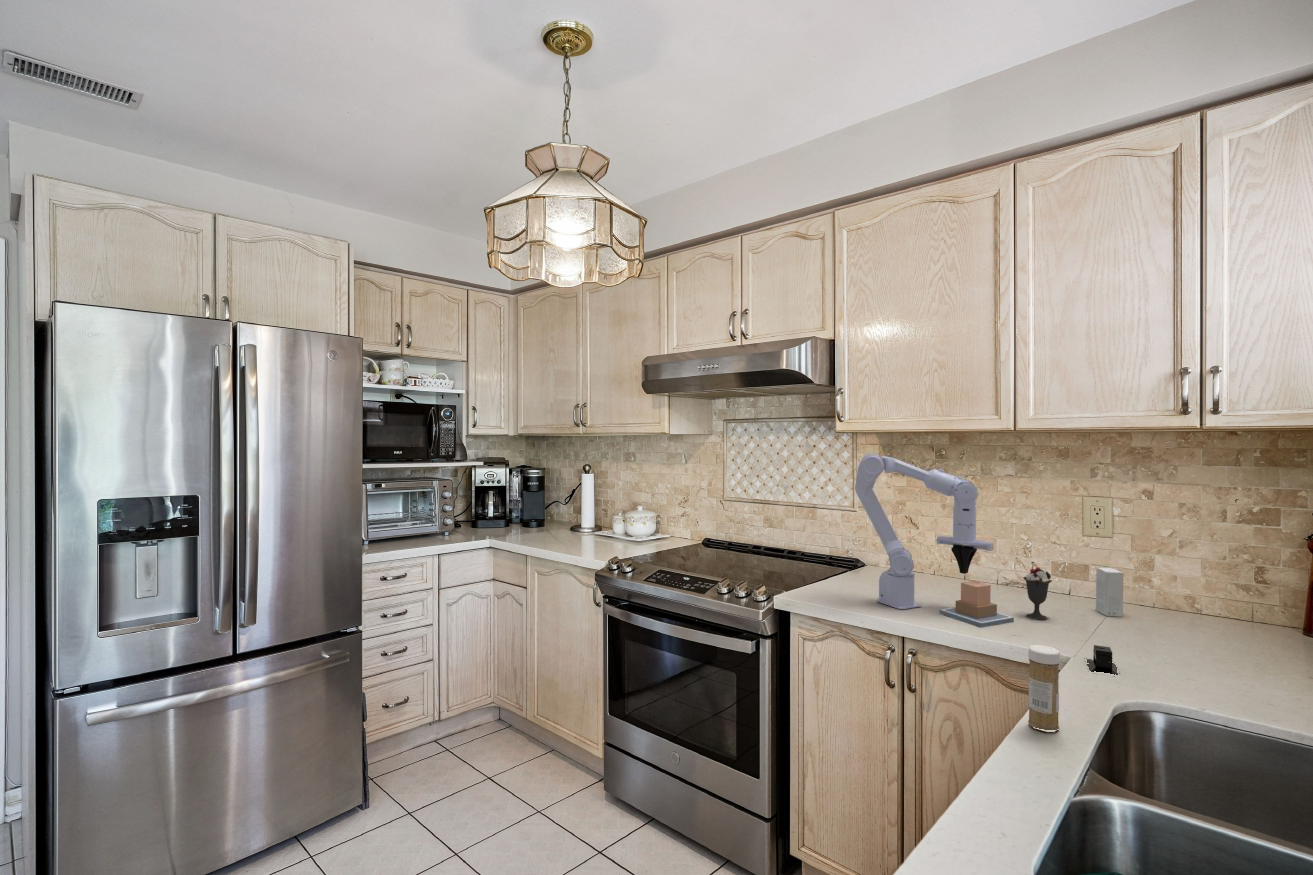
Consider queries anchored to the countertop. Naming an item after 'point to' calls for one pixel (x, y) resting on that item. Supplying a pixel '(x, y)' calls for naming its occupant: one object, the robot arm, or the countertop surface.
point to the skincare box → (1109, 592)
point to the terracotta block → (975, 593)
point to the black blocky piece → (1102, 660)
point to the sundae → (1037, 590)
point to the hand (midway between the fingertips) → (963, 572)
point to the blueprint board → (977, 614)
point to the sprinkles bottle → (1043, 687)
